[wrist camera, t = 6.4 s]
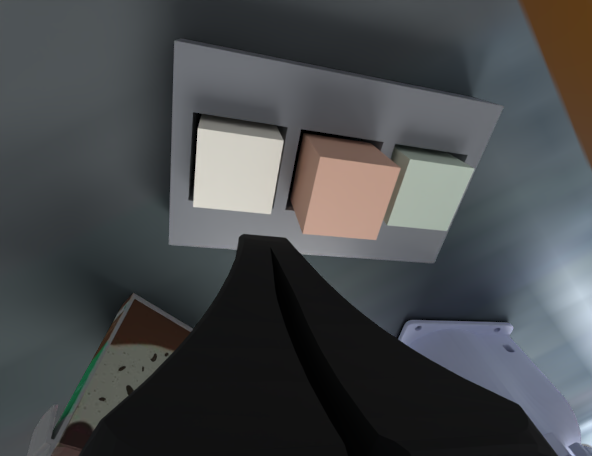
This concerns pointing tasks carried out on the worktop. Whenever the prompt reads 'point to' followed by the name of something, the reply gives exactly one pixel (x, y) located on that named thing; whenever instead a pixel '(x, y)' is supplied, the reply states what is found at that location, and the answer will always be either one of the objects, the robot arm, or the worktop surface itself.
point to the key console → (315, 117)
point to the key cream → (236, 164)
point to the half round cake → (111, 375)
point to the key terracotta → (342, 187)
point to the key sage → (426, 188)
